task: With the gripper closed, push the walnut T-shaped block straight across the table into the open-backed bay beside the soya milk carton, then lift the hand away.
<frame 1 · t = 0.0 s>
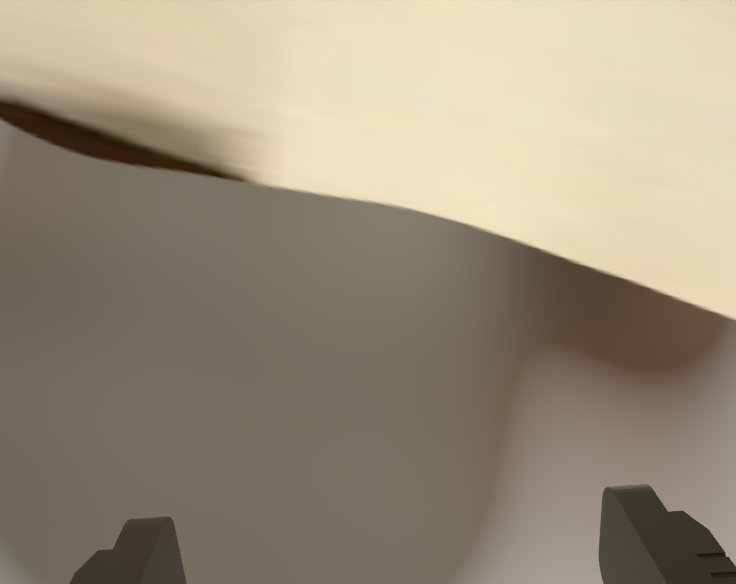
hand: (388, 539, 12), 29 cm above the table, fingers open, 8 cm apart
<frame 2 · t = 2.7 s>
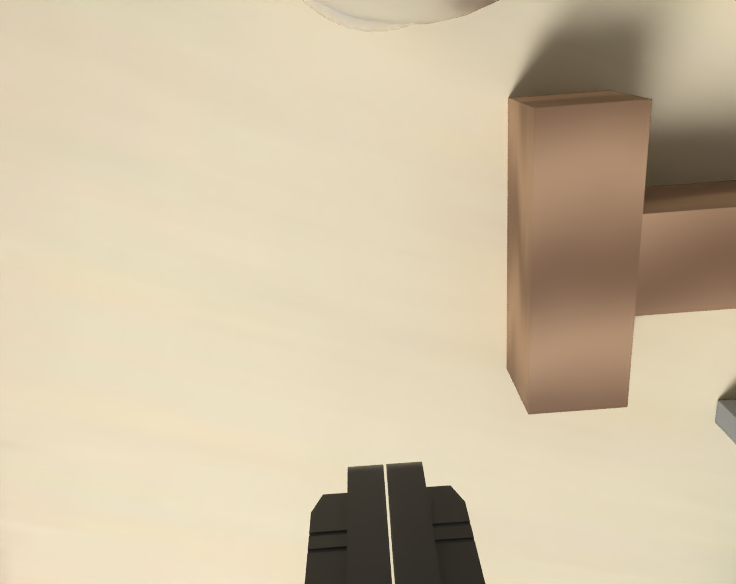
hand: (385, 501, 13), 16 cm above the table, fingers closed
t block: (647, 232, 28), on the table
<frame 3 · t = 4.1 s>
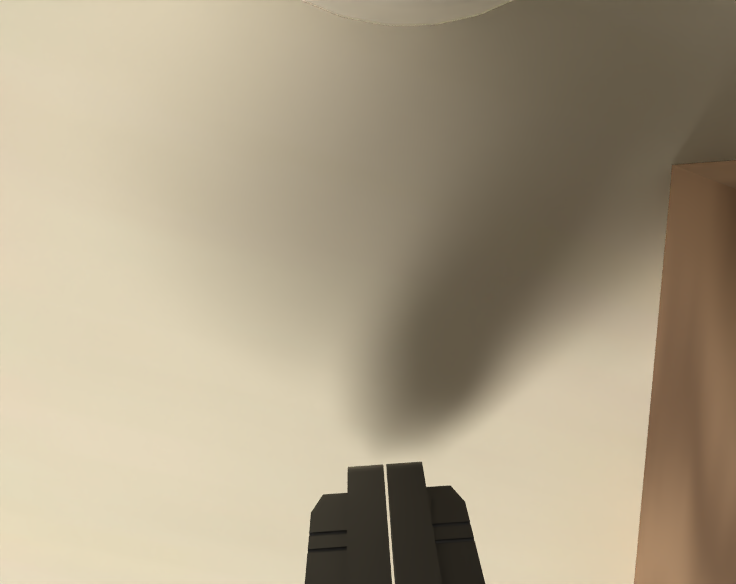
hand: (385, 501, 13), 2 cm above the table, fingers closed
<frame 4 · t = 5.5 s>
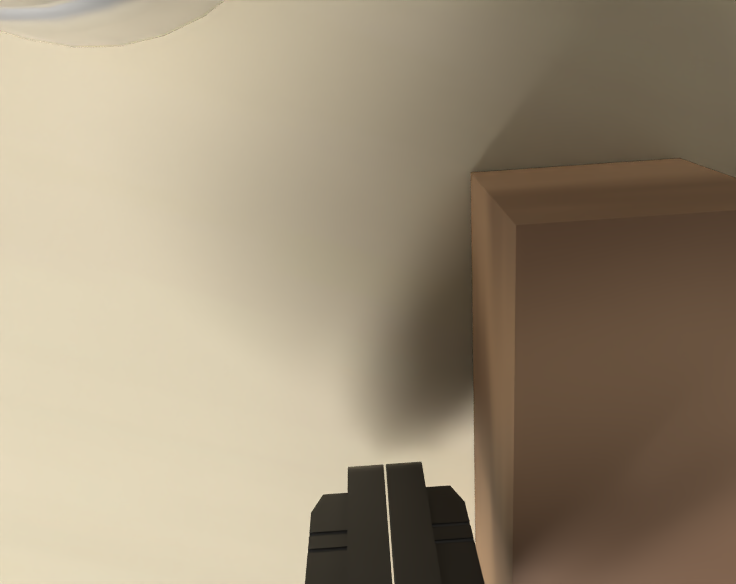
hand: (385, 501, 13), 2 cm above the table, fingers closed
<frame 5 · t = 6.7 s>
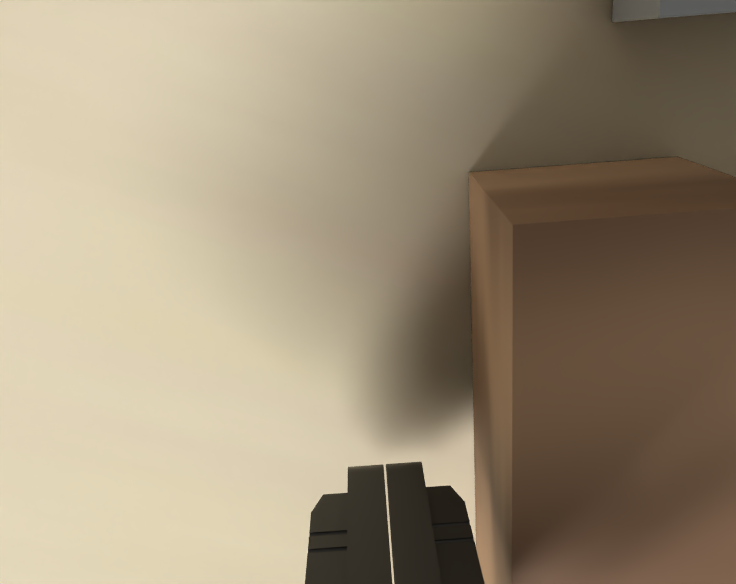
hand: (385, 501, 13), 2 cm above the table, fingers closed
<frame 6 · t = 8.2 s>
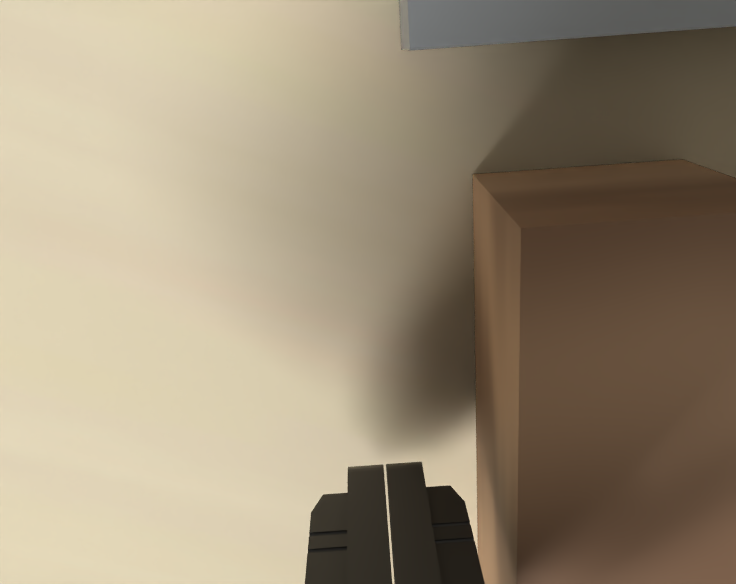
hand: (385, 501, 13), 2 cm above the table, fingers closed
bay frame: (735, 432, 15), on the table
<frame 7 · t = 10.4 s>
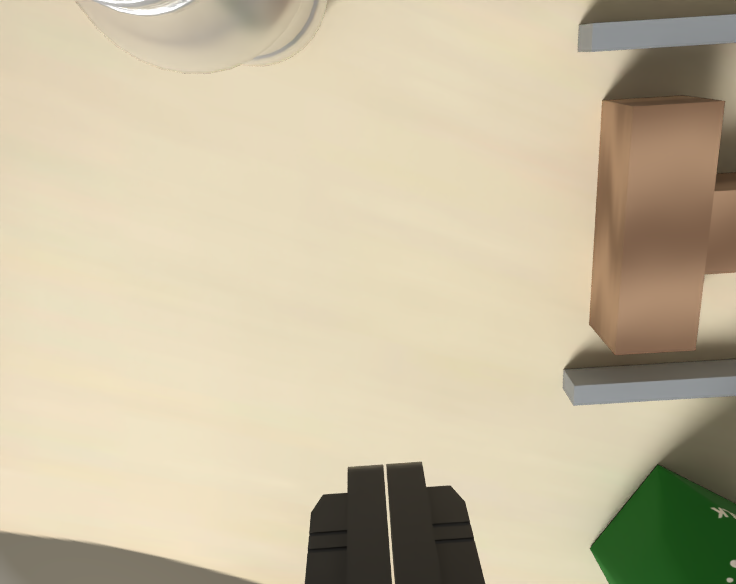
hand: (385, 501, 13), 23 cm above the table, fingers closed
soya milk: (666, 525, 42), on the table
t block: (709, 211, 35), on the table
bay frame: (703, 215, 35), on the table
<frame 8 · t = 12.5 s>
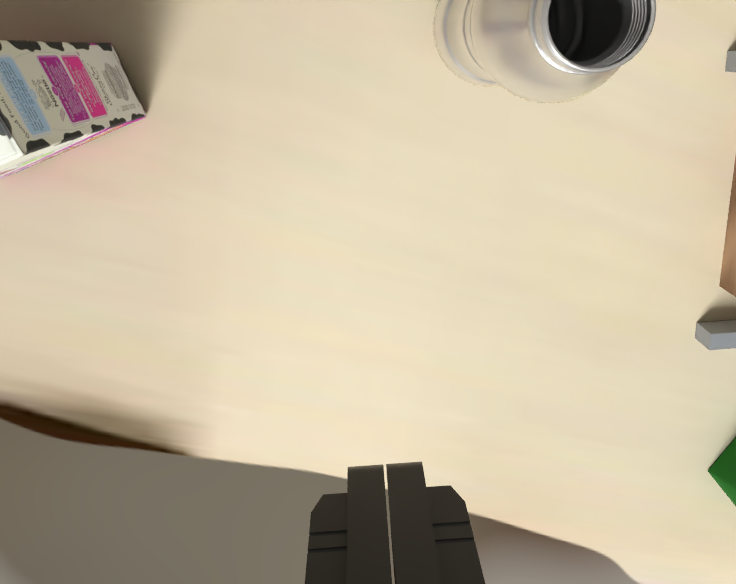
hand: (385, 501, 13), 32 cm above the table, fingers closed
candy bar box: (52, 111, 42), on the table
plastic bottle: (483, 28, 40), on the table
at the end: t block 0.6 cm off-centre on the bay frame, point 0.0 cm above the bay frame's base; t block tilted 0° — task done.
